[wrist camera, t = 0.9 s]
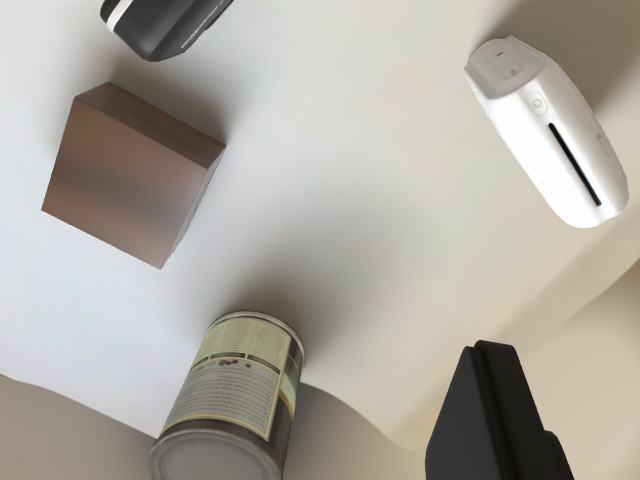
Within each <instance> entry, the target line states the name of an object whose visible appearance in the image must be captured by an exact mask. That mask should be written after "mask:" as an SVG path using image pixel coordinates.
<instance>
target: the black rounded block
mask: <svg viewBox="0 0 640 480" xmlns="http://www.w3.org/2000/svg"><path fill="white" fill-rule="evenodd" d="M233 1H234V0H105V1H104V3H103V5H102V7H101V10H100V16H101V18H102V20H103V21H104V22H105V23H106V25H107V28H108V29H109V30H110V31H111V32H112V33H113V34H117V35H118V36H119V37H120V38H121V39H122V40H123V41H124V42H125V43H126V44H127V45H128V46H129V47H130V48H131V49H132V50H133V51H134V52H135V53H136V54H138V55H139V56H140V57H141V58H143V59H145V60H147V61H150V62H158V61H162V60H166V59H169V58H171V57H174V56H177V55H179V54H181V53H184V52H185V51H186V50H187V49H188V48H189V47H190V46H191V45H192V44H193V43H194V42H195V41H196V40H197V38H198V37H199V36H200V35H201V34H202V33H203V31H205V30H207V29H208V28H209V27H210V26H212V24H213V23H214V22H215V21H216V20H217V19H218V18H219V17H220V16H221V15H222V13H223V12H224V11H225V10H226V9H227V8H228V6H229V5H230V4H231V3H232V2H233Z"/></svg>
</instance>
